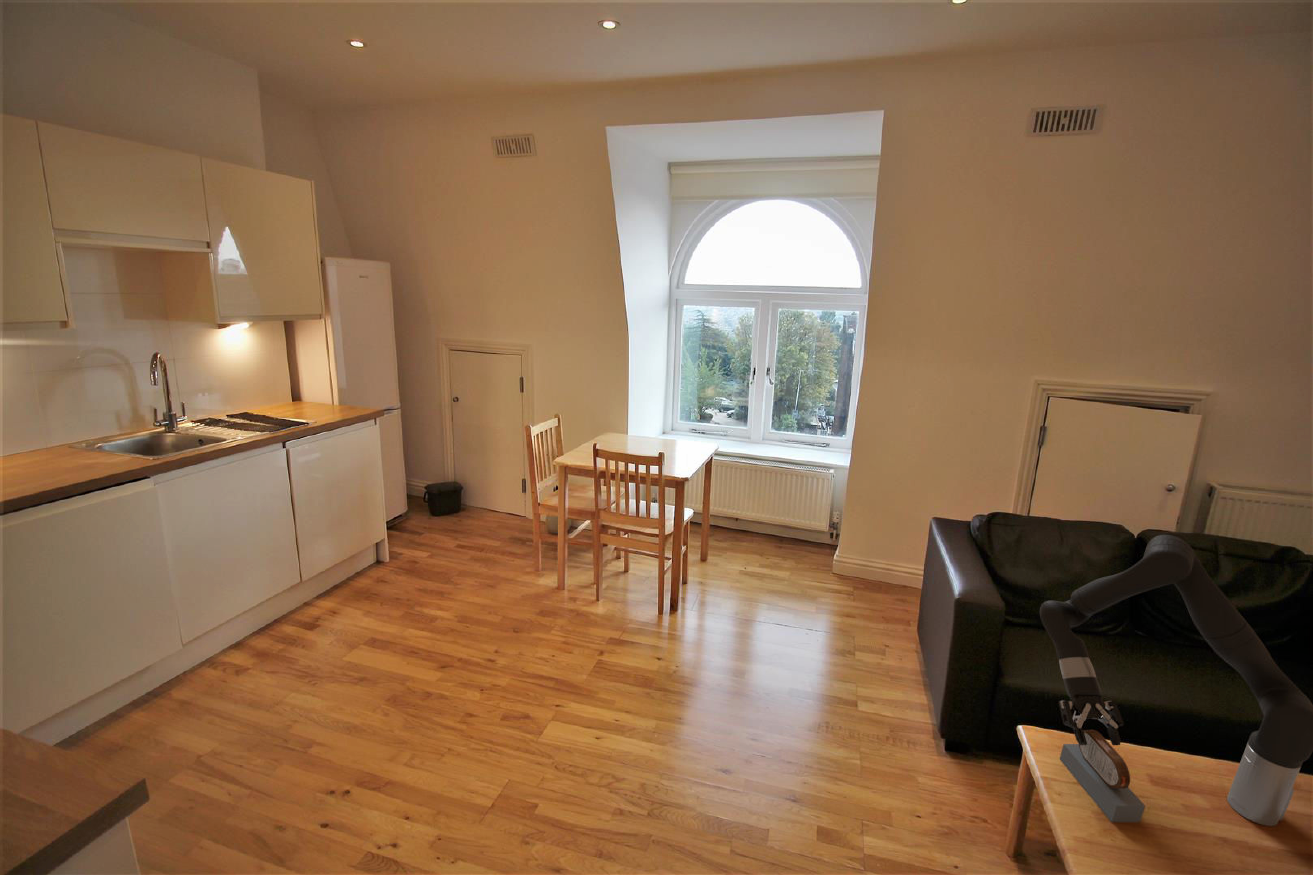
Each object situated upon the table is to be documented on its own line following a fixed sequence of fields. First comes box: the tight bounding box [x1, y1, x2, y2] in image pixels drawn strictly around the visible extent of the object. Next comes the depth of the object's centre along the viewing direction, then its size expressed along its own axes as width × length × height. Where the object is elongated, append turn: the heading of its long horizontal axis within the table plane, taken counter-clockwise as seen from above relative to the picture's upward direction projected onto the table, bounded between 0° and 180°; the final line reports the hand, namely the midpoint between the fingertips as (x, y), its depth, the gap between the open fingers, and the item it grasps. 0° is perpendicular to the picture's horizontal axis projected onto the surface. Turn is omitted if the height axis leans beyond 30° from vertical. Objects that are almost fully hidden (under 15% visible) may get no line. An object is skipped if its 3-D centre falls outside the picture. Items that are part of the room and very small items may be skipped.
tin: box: [1077, 729, 1131, 789], centre depth 152 cm, size 15×3×8 cm, turn 0°
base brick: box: [1059, 743, 1146, 823], centre depth 154 cm, size 7×19×5 cm, turn 1°
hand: (1100, 745), depth 154 cm, fingers open, 8 cm apart
